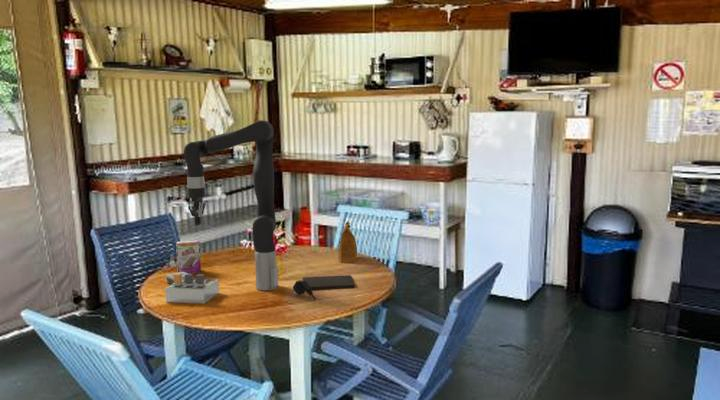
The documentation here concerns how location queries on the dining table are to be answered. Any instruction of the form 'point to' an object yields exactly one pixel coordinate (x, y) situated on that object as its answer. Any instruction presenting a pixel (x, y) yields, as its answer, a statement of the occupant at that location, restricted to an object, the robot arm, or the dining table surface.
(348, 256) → the coffee package
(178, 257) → the candy bar box
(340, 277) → the hardcover book
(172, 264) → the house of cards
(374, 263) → the dining table surface
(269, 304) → the dining table surface
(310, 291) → the power plug
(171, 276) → the electrical switch
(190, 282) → the breaker mid
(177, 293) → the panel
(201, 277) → the breaker left
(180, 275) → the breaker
